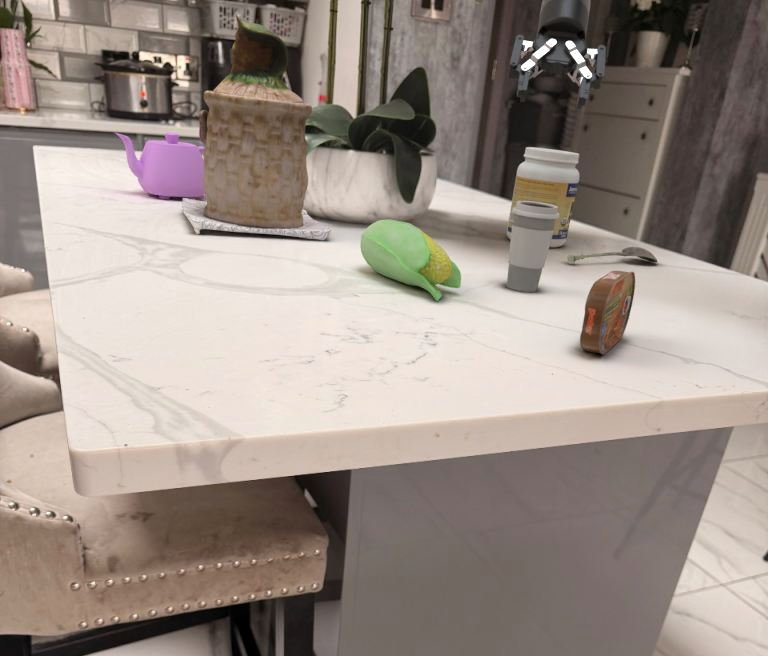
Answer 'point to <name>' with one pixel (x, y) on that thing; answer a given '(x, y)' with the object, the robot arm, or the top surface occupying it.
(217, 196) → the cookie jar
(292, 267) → the top surface
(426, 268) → the corn
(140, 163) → the teapot
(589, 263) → the top surface
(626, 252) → the soupspoon
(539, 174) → the supplement tub
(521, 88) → the robot arm
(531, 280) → the cup
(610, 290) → the tin
